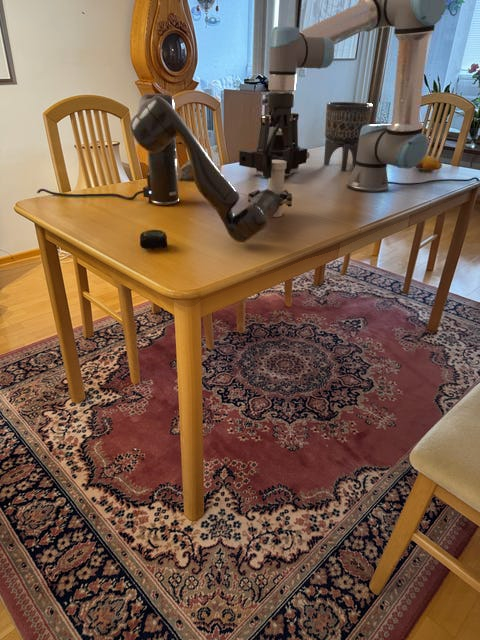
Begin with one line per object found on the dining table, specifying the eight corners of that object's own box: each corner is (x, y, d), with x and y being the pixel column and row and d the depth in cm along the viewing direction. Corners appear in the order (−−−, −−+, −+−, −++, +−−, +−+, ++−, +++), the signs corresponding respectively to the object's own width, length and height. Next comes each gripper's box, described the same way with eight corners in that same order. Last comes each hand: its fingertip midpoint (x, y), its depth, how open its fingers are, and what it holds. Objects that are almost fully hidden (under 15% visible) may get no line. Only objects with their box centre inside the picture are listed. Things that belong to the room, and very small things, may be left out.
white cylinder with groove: (267, 169, 135) (268, 163, 134) (267, 165, 140) (268, 159, 139) (286, 170, 135) (286, 163, 134) (285, 166, 140) (286, 160, 139)
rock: (201, 173, 191) (201, 157, 188) (214, 178, 186) (214, 161, 182) (175, 178, 184) (174, 161, 180) (187, 183, 178) (186, 166, 175)
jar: (266, 212, 147) (269, 162, 139) (281, 212, 147) (284, 162, 139) (266, 216, 143) (269, 165, 135) (282, 217, 143) (285, 165, 135)
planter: (313, 167, 208) (319, 103, 195) (331, 160, 222) (338, 101, 209) (353, 173, 199) (362, 107, 185) (369, 166, 213) (379, 104, 199)
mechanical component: (240, 120, 182) (283, 115, 202) (239, 174, 192) (280, 164, 212) (283, 126, 170) (325, 120, 190) (280, 183, 180) (320, 171, 200)
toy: (415, 164, 201) (409, 156, 214) (418, 178, 204) (412, 170, 217) (442, 156, 198) (434, 149, 211) (444, 170, 201) (436, 162, 214)
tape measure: (140, 252, 115) (139, 238, 113) (141, 242, 120) (140, 229, 119) (167, 251, 116) (166, 237, 114) (167, 241, 121) (166, 228, 120)
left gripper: (288, 195, 126) (300, 182, 140) (239, 190, 130) (256, 178, 144) (286, 222, 130) (298, 206, 144) (239, 216, 134) (255, 201, 148)
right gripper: (295, 90, 136) (290, 168, 147) (245, 92, 124) (243, 177, 135) (315, 91, 131) (307, 172, 142) (264, 94, 119) (261, 182, 130)
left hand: (277, 192), depth 144 cm, fingers closed on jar, 5 cm apart
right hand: (276, 175), depth 139 cm, fingers open, 8 cm apart
